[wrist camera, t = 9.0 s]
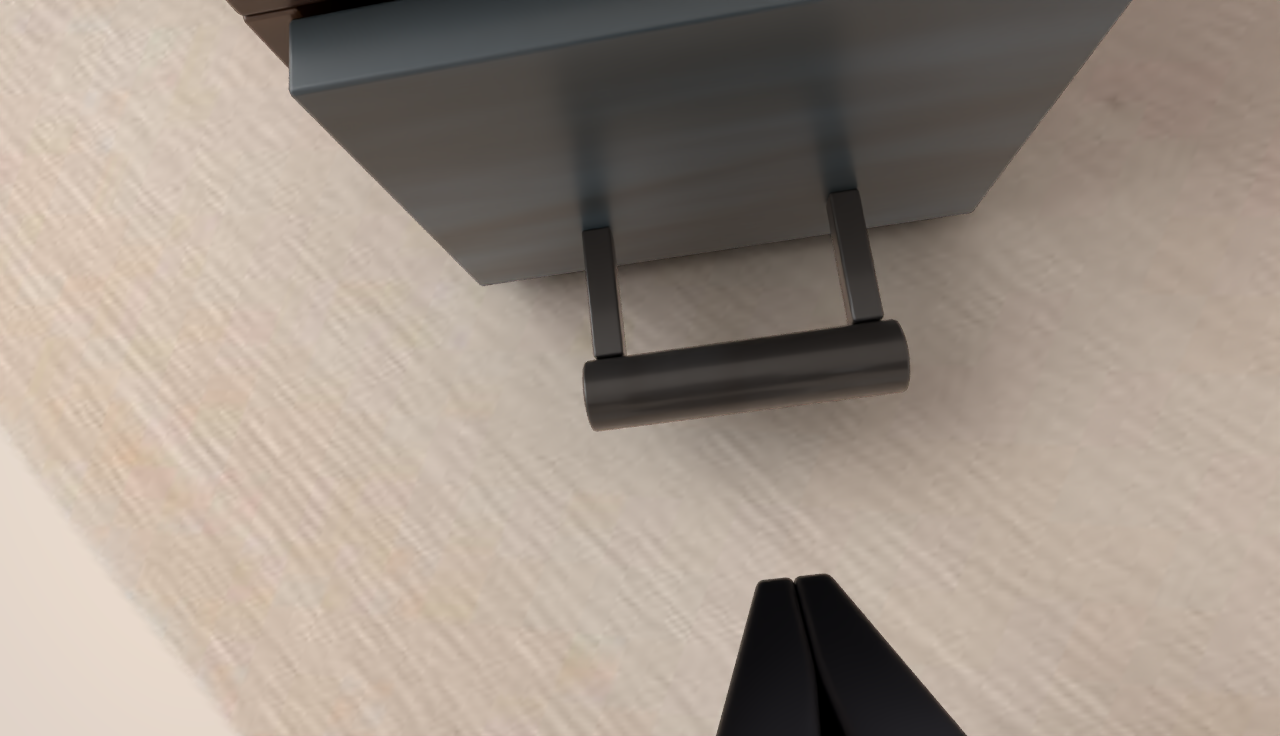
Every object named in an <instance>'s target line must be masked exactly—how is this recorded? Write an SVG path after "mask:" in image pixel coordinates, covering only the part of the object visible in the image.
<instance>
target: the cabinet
mask: <svg viewBox="0 0 1280 736" xmlns="http://www.w3.org/2000/svg"><path fill="white" fill-rule="evenodd" d="M226 1H227V2H228V3H229V4H230V5H231V7H232V8H233V9H234V10H235V11H236V12H237V13H238V14H240V15H242V16H243V19H244V21H245V23H246V24H247V25H248V26H249V27H250V28H251V29H252V30H253V31H254V32H255V33H256V34H257V35H258V36H259V38H260V39H261V40H262V41H263V42H264V43H265V44H266V45H267V46H268V47H269V48H270V49H271V50H272V51H273V52H274V53H275V54H276V56H277V57H278V58H279V59H280V60H281V61H282V62H283V63H284V64H285V65H286V66H287V67H288V68H289V24H290V22H291V21H292V20H294V19H299V18H305V17H310V16H315V15H320V14H326V13H331V12H336V11H342V10H347V9H352V8H357V7H363V6H368V5H373V4H379V3H383V2H382V0H226Z"/></svg>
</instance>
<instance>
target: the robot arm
mask: <svg viewBox="0 0 1280 736" xmlns="http://www.w3.org/2000/svg"><path fill="white" fill-rule="evenodd" d="M716 736H967V735H966V734H965V733H964V732H963V730H962V729H961V728H960V727H959V726H958V725H957V723H956V722H955V721H954V720H953V719H952V718H951V716H950V715H949V714H948V713H947V712H946V710H945V709H944V708H943V707H942V706H941V705H940V703H939V702H938V701H937V700H936V699H935V698H934V696H933V695H932V694H931V693H930V692H929V690H928V689H927V688H926V687H925V686H924V685H923V683H922V682H921V681H920V680H919V679H918V678H917V676H916V675H915V674H914V673H913V672H912V670H911V669H910V668H909V667H908V666H907V665H906V663H905V662H904V661H903V660H902V659H901V657H900V656H899V655H898V654H897V653H896V652H895V650H894V649H893V648H892V647H891V646H890V645H889V643H888V642H887V641H886V640H885V639H884V637H883V636H882V635H881V634H880V633H879V632H878V630H877V629H876V628H875V627H874V626H873V625H872V623H871V622H870V621H869V620H868V619H867V617H866V616H865V615H864V614H863V613H862V612H861V610H860V609H859V608H858V607H857V606H856V605H855V603H854V602H853V601H852V600H851V599H850V597H849V596H848V595H847V594H846V593H845V592H844V590H843V589H842V588H841V587H840V586H839V584H838V583H837V582H836V581H835V580H834V579H833V578H832V577H831V576H830V575H828V574H815V575H806V576H799V577H797V578H796V579H795V580H794V582H793V581H792V580H791V579H790V578H778V579H768V580H762V581H760V582H758V584H757V586H756V589H755V592H754V596H753V600H752V604H751V607H750V611H749V615H748V619H747V622H746V626H745V630H744V633H743V637H742V641H741V645H740V648H739V652H738V656H737V660H736V663H735V667H734V671H733V675H732V678H731V682H730V686H729V690H728V693H727V697H726V701H725V705H724V708H723V712H722V716H721V720H720V723H719V727H718V731H717V735H716Z"/></svg>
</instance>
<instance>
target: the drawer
mask: <svg viewBox="0 0 1280 736" xmlns="http://www.w3.org/2000/svg"><path fill="white" fill-rule="evenodd" d="M1131 1H1132V0H382V2H383V3H379V4H373V5H368V6H363V7H357V8H352V9H347V10H342V11H336V12H331V13H326V14H320V15H315V16H310V17H305V18H299V19H294V20H292V21H291V22H290V24H289V91H290V94H291V96H292V97H293V98H294V99H295V100H296V101H297V102H298V103H299V104H300V105H301V106H302V107H303V108H304V109H305V110H306V111H307V112H308V113H309V114H310V115H311V116H312V117H313V118H314V119H315V120H316V121H317V122H318V123H319V124H320V125H321V126H322V127H323V128H324V129H325V130H326V131H327V132H328V133H329V134H330V135H331V136H332V137H333V138H334V139H335V140H336V141H337V142H338V143H339V144H340V145H341V146H342V147H343V148H344V149H345V150H346V151H347V152H348V153H349V154H350V155H351V156H352V157H353V158H354V159H355V160H356V161H357V162H358V163H359V164H360V165H361V166H362V167H363V168H364V169H365V170H366V171H367V172H368V173H369V174H370V175H371V176H372V177H373V178H374V179H375V180H376V181H377V182H378V183H379V184H380V185H381V186H382V187H383V188H384V189H385V190H386V191H387V192H388V193H389V194H390V195H391V196H392V197H393V198H394V199H395V200H396V201H397V202H398V203H399V204H400V205H401V206H402V207H403V208H404V209H405V210H406V211H407V212H408V213H409V214H410V215H411V216H412V217H413V218H414V219H415V220H416V221H417V222H418V223H419V224H420V225H421V226H422V227H423V228H424V229H425V230H426V231H427V232H428V233H429V234H430V235H431V236H432V237H433V238H434V239H435V240H436V241H437V242H438V243H439V244H440V245H441V246H442V247H443V248H444V249H445V250H446V251H447V252H448V253H449V254H450V255H451V256H452V257H453V258H454V259H455V260H456V261H457V262H458V263H459V264H460V265H461V266H462V267H463V268H464V269H465V270H466V271H467V272H468V273H469V274H470V275H471V276H472V277H473V278H474V279H475V280H476V281H477V282H478V283H479V284H480V285H482V286H485V285H492V284H498V283H505V282H512V281H518V280H525V279H532V278H538V277H545V276H552V275H559V274H565V273H572V272H579V271H585V273H586V284H587V294H588V304H589V314H590V324H591V335H592V345H593V355H594V357H595V358H596V360H591V361H587V362H585V364H584V367H583V393H584V401H585V407H586V412H587V416H588V420H589V423H590V425H591V427H592V429H593V430H594V431H605V430H613V429H621V428H629V427H636V426H644V425H652V424H660V423H667V422H675V421H683V420H691V419H698V418H706V417H714V416H722V415H730V414H737V413H745V412H753V411H761V410H768V409H776V408H784V407H792V406H799V405H807V404H815V403H823V402H831V401H838V400H846V399H854V398H862V397H869V396H877V395H885V394H893V393H900V392H904V391H905V390H906V389H907V388H908V385H909V380H910V357H909V350H908V345H907V341H906V338H905V335H904V332H903V330H902V328H901V326H900V324H899V323H898V321H896V320H893V319H888V320H882V318H883V316H884V313H883V308H882V303H881V298H880V293H879V288H878V283H877V278H876V273H875V268H874V263H873V258H872V253H871V248H870V243H869V238H868V233H867V228H873V227H879V226H886V225H893V224H899V223H906V222H913V221H919V220H926V219H933V218H940V217H946V216H953V215H960V214H966V213H971V212H973V211H974V209H975V208H976V207H977V205H978V204H979V203H980V201H981V200H982V199H983V197H984V196H985V195H986V193H987V192H988V191H989V189H990V188H991V187H992V185H993V184H994V183H995V181H996V180H997V179H998V177H999V176H1000V175H1001V174H1002V172H1003V171H1004V170H1005V168H1006V167H1007V166H1008V164H1009V163H1010V162H1011V160H1012V159H1013V158H1014V156H1015V155H1016V154H1017V152H1018V151H1019V150H1020V148H1021V147H1022V146H1023V144H1024V143H1025V142H1026V140H1027V139H1028V138H1029V136H1030V135H1031V134H1032V132H1033V131H1034V130H1035V128H1036V127H1037V126H1038V124H1039V123H1040V122H1041V120H1042V119H1043V118H1044V117H1045V115H1046V114H1047V113H1048V111H1049V110H1050V109H1051V107H1052V106H1053V105H1054V103H1055V102H1056V101H1057V99H1058V98H1059V97H1060V95H1061V94H1062V93H1063V91H1064V90H1065V89H1066V87H1067V86H1068V85H1069V83H1070V82H1071V81H1072V79H1073V78H1074V77H1075V75H1076V74H1077V73H1078V71H1079V70H1080V69H1081V67H1082V66H1083V65H1084V63H1085V62H1086V61H1087V60H1088V58H1089V57H1090V56H1091V54H1092V53H1093V52H1094V50H1095V49H1096V48H1097V46H1098V45H1099V44H1100V42H1101V41H1102V40H1103V38H1104V37H1105V36H1106V34H1107V33H1108V32H1109V30H1110V29H1111V28H1112V26H1113V25H1114V24H1115V22H1116V21H1117V20H1118V18H1119V17H1120V16H1121V14H1122V13H1123V12H1124V10H1125V9H1126V8H1127V6H1128V5H1129V4H1130V3H1131ZM826 234H831V237H832V243H833V248H834V253H835V259H836V264H837V269H838V275H839V280H840V286H841V291H842V296H843V302H844V307H845V312H846V318H847V323H848V325H845V326H838V327H830V328H823V329H816V330H809V331H801V332H794V333H787V334H780V335H772V336H765V337H758V338H751V339H743V340H736V341H729V342H722V343H714V344H707V345H700V346H693V347H685V348H678V349H671V350H664V351H656V352H649V353H642V354H635V355H627V352H626V343H625V334H624V325H623V316H622V306H621V297H620V288H619V279H618V270H617V266H619V265H625V264H632V263H639V262H645V261H652V260H659V259H665V258H672V257H679V256H686V255H692V254H699V253H706V252H712V251H719V250H726V249H732V248H739V247H746V246H752V245H759V244H766V243H772V242H779V241H786V240H792V239H799V238H806V237H813V236H819V235H826Z"/></svg>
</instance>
